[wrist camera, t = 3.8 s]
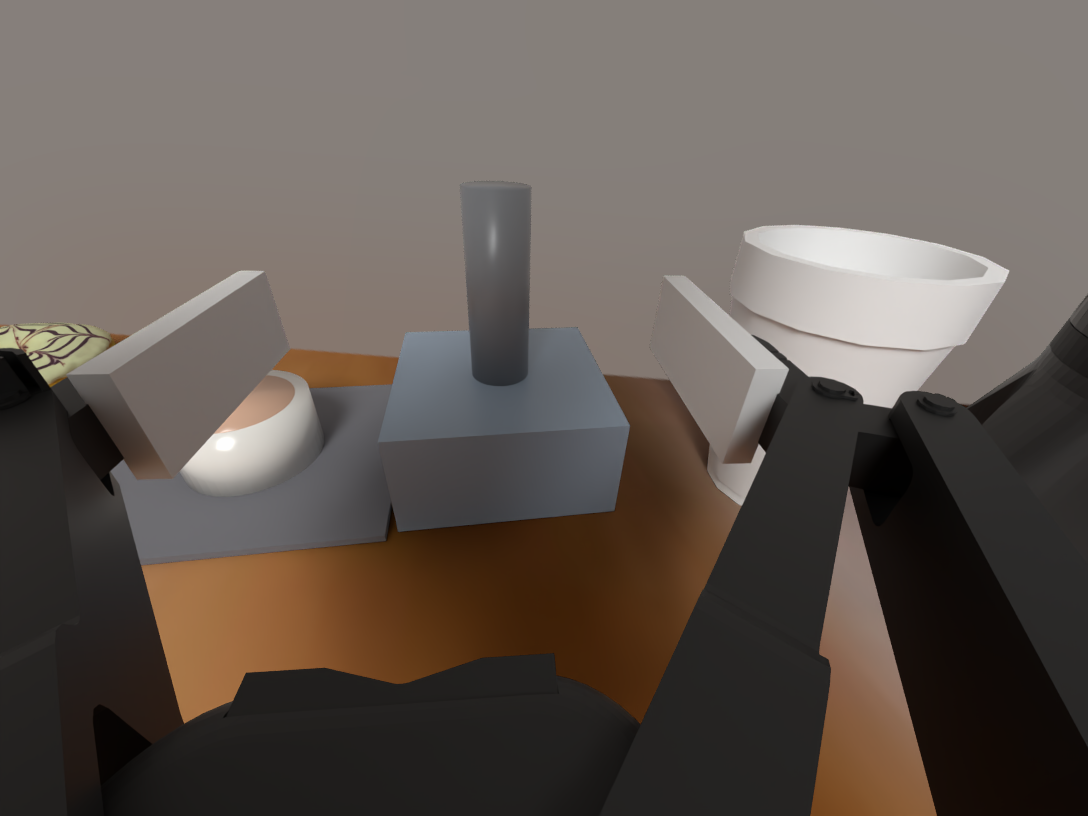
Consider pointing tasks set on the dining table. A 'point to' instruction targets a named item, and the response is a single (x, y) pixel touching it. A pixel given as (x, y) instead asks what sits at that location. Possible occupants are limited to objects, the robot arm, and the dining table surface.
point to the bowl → (259, 441)
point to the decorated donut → (56, 346)
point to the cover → (499, 396)
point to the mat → (276, 495)
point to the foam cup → (854, 311)
